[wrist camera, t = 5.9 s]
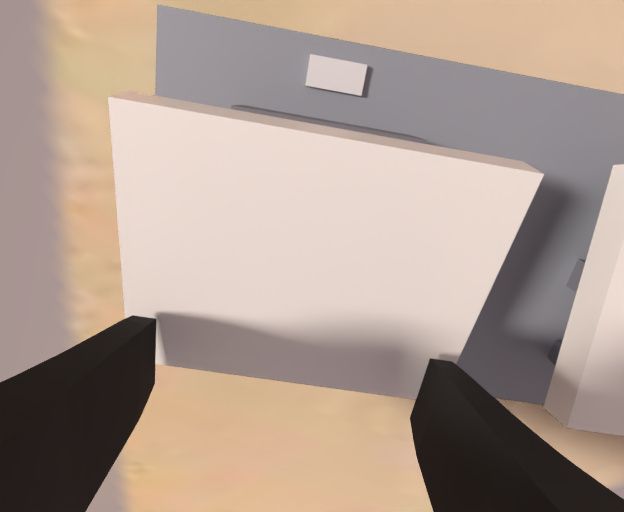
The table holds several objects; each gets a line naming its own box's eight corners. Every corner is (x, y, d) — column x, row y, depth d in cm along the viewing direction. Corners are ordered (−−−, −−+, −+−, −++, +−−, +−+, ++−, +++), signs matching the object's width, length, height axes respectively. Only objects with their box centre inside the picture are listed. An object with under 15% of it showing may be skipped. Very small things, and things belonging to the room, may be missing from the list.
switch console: (663, 392, 18) (751, 465, 14) (168, 321, 16) (128, 381, 13) (817, 141, 14) (992, 154, 10) (181, 19, 12) (128, -15, 9)
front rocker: (423, 357, 13) (438, 402, 12) (153, 318, 13) (128, 359, 11) (506, 151, 10) (544, 174, 8) (146, 86, 9) (108, 96, 8)
